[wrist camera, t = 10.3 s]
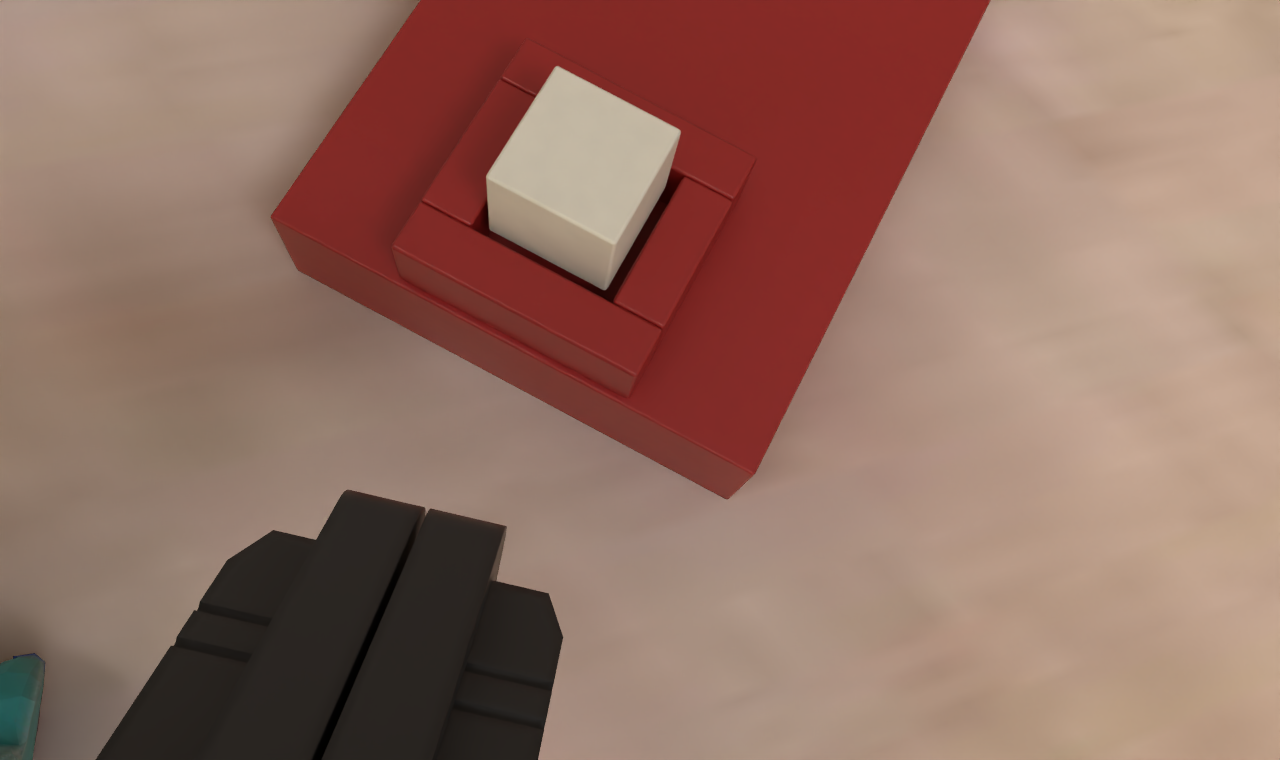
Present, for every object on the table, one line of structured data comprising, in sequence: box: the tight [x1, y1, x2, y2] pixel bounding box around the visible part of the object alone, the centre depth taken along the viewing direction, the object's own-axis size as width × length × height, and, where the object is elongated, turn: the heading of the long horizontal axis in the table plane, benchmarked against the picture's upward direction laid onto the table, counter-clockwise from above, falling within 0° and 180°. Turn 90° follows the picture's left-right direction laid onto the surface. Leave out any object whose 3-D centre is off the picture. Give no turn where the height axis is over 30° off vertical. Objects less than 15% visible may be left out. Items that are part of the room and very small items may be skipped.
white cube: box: [486, 66, 681, 290], centre depth 23 cm, size 3×3×2 cm
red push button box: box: [271, 0, 990, 499], centre depth 27 cm, size 12×16×5 cm
